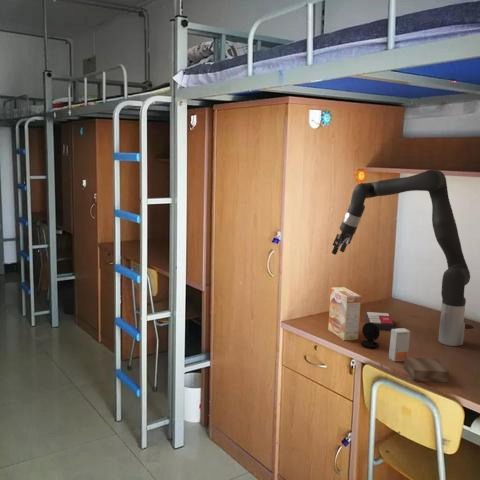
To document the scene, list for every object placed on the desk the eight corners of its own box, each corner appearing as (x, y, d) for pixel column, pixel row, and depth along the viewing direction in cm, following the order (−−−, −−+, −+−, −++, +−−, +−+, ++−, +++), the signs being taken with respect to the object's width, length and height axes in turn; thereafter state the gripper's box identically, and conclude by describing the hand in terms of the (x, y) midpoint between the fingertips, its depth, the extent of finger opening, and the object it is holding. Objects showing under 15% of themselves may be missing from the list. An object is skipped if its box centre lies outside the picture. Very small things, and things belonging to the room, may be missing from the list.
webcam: (382, 346, 227) (384, 323, 225) (372, 350, 222) (374, 327, 220) (366, 341, 233) (368, 318, 231) (356, 345, 228) (358, 322, 226)
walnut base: (435, 368, 205) (437, 358, 205) (447, 382, 194) (448, 371, 193) (403, 367, 206) (404, 357, 205) (413, 380, 194) (414, 370, 193)
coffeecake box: (327, 329, 246) (330, 287, 243) (341, 328, 248) (344, 286, 245) (343, 340, 232) (346, 296, 229) (358, 339, 234) (361, 295, 231)
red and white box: (369, 321, 248) (366, 310, 263) (369, 330, 249) (365, 319, 264) (394, 323, 247) (389, 312, 262) (393, 332, 248) (388, 320, 263)
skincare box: (394, 362, 211) (396, 332, 209) (388, 357, 215) (390, 328, 213) (408, 361, 212) (410, 331, 210) (402, 356, 216) (404, 327, 214)
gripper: (350, 227, 250) (337, 258, 256) (363, 224, 262) (350, 254, 267) (337, 220, 254) (324, 251, 260) (350, 217, 265) (337, 247, 271)
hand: (337, 252), depth 264 cm, fingers open, 8 cm apart
